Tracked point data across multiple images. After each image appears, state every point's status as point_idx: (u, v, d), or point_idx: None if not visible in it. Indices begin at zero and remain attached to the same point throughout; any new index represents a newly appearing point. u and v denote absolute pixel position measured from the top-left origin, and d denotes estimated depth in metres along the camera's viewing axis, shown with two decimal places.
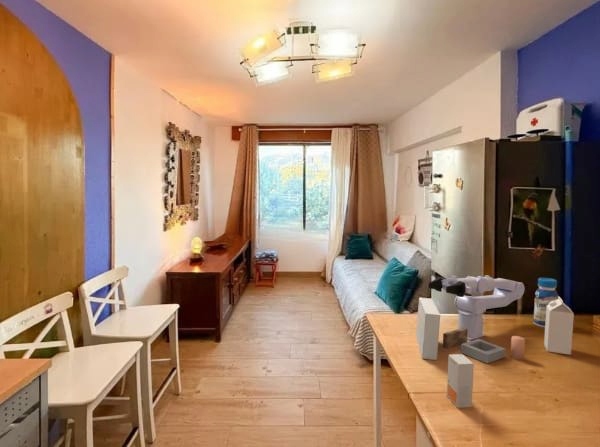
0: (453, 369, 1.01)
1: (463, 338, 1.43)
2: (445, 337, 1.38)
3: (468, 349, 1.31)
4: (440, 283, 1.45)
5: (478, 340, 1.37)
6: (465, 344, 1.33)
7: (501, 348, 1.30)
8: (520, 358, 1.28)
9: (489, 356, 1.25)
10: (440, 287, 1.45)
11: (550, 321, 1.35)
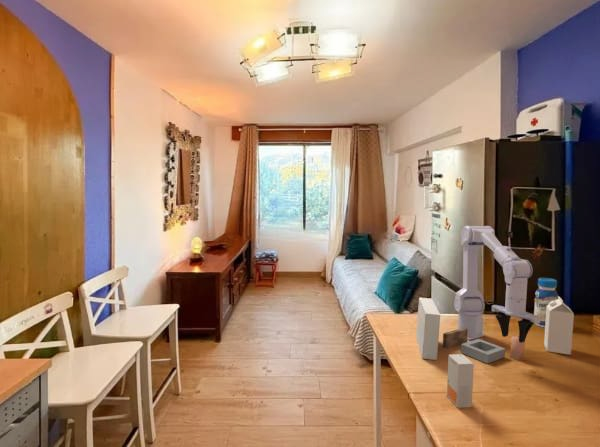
0: (453, 369, 1.01)
1: (463, 338, 1.43)
2: (445, 337, 1.38)
3: (468, 349, 1.31)
4: (505, 318, 1.24)
5: (478, 340, 1.37)
6: (465, 344, 1.33)
7: (501, 348, 1.30)
8: (520, 358, 1.28)
9: (489, 356, 1.25)
10: (508, 316, 1.25)
11: (550, 321, 1.35)
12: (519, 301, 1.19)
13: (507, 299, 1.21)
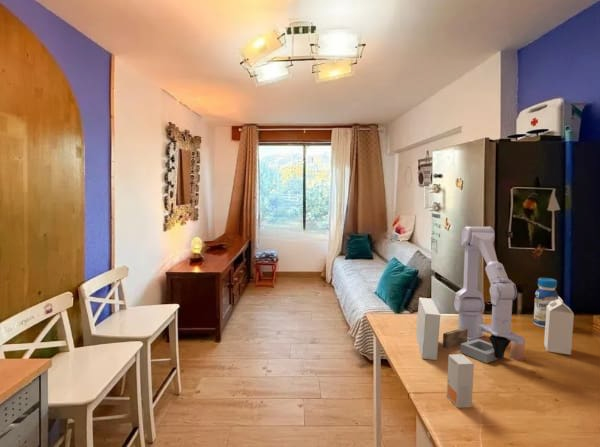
0: (453, 369, 1.01)
1: (463, 338, 1.43)
2: (445, 337, 1.38)
3: (467, 349, 1.31)
4: None
5: (477, 340, 1.37)
6: (464, 344, 1.34)
7: None
8: (520, 358, 1.28)
9: (488, 356, 1.26)
10: None
11: (550, 321, 1.35)
12: (504, 322, 1.23)
13: (493, 320, 1.26)
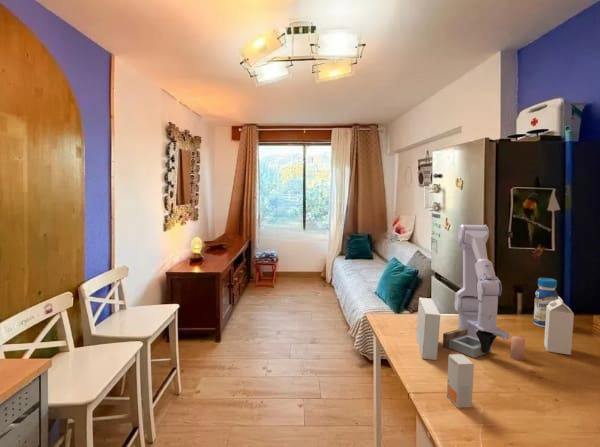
0: (453, 369, 1.01)
1: None
2: (445, 337, 1.38)
3: (455, 344, 1.35)
4: None
5: (466, 335, 1.41)
6: (453, 339, 1.38)
7: None
8: (520, 358, 1.28)
9: (475, 350, 1.30)
10: None
11: (550, 321, 1.35)
12: (490, 317, 1.27)
13: (479, 315, 1.30)
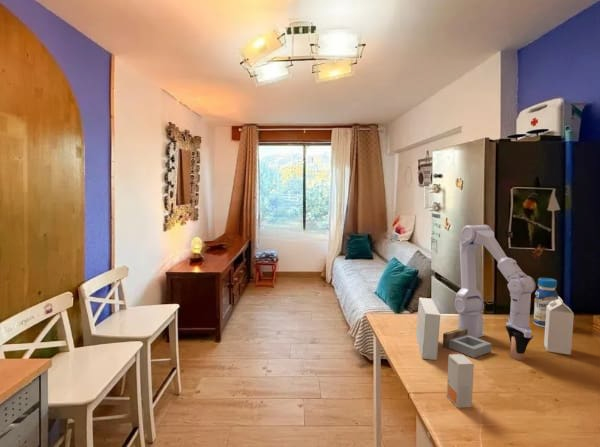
0: (453, 369, 1.01)
1: None
2: (445, 337, 1.38)
3: (455, 344, 1.35)
4: (514, 330, 1.32)
5: (466, 335, 1.41)
6: (453, 339, 1.38)
7: (487, 343, 1.34)
8: (520, 358, 1.28)
9: (475, 350, 1.30)
10: (519, 330, 1.32)
11: (550, 321, 1.35)
12: (516, 314, 1.27)
13: (510, 311, 1.31)
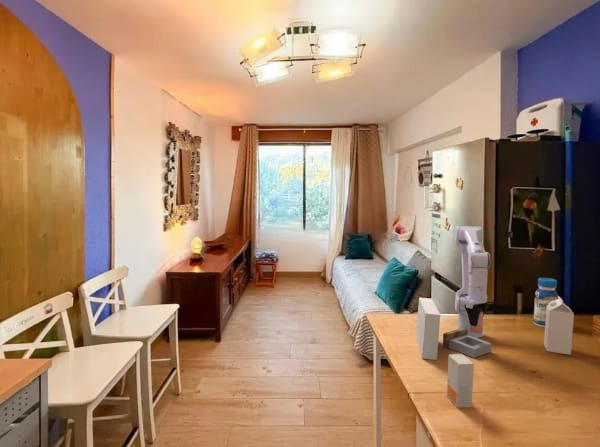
0: (453, 369, 1.01)
1: None
2: (445, 337, 1.38)
3: (455, 344, 1.35)
4: (477, 305, 1.36)
5: (466, 335, 1.41)
6: (453, 339, 1.38)
7: (487, 343, 1.34)
8: (475, 331, 1.33)
9: (475, 350, 1.30)
10: (482, 305, 1.35)
11: (550, 321, 1.35)
12: (470, 287, 1.33)
13: None
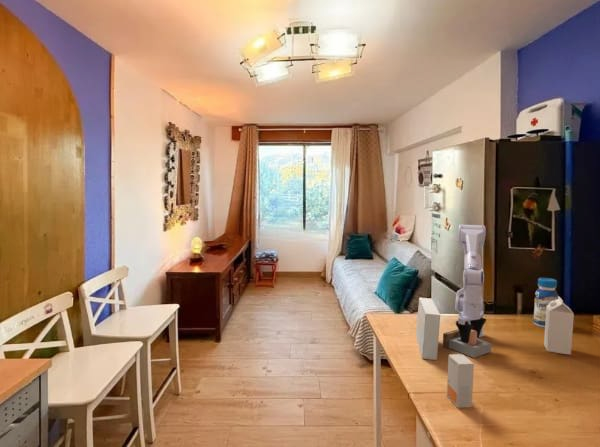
0: (453, 369, 1.01)
1: None
2: (445, 337, 1.38)
3: (455, 344, 1.35)
4: (474, 320, 1.38)
5: None
6: (453, 339, 1.38)
7: (487, 343, 1.34)
8: None
9: (475, 350, 1.30)
10: (479, 321, 1.37)
11: (550, 321, 1.35)
12: (464, 303, 1.35)
13: None
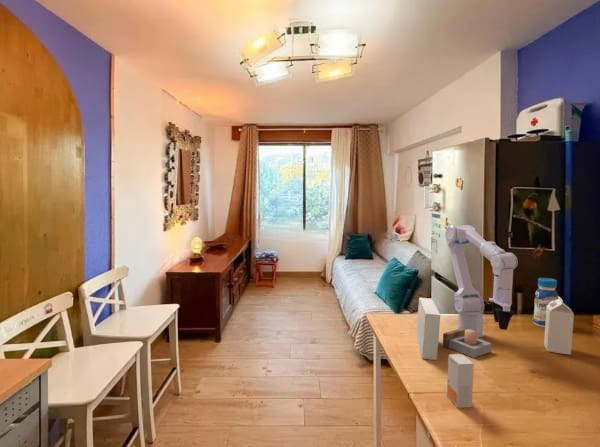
0: (453, 369, 1.01)
1: None
2: (445, 337, 1.38)
3: (455, 344, 1.35)
4: (497, 305, 1.37)
5: None
6: (453, 339, 1.38)
7: (487, 343, 1.34)
8: None
9: (475, 350, 1.30)
10: (502, 305, 1.36)
11: (550, 321, 1.35)
12: (498, 289, 1.31)
13: None
